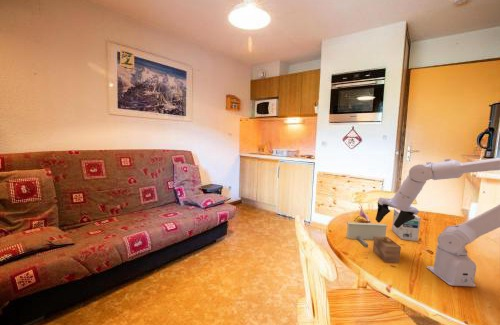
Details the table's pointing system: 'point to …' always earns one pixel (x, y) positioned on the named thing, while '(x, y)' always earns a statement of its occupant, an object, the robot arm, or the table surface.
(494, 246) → the table surface
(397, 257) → the cabinet block
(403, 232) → the light bulb box
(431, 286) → the table surface
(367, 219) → the lily
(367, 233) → the wall board
